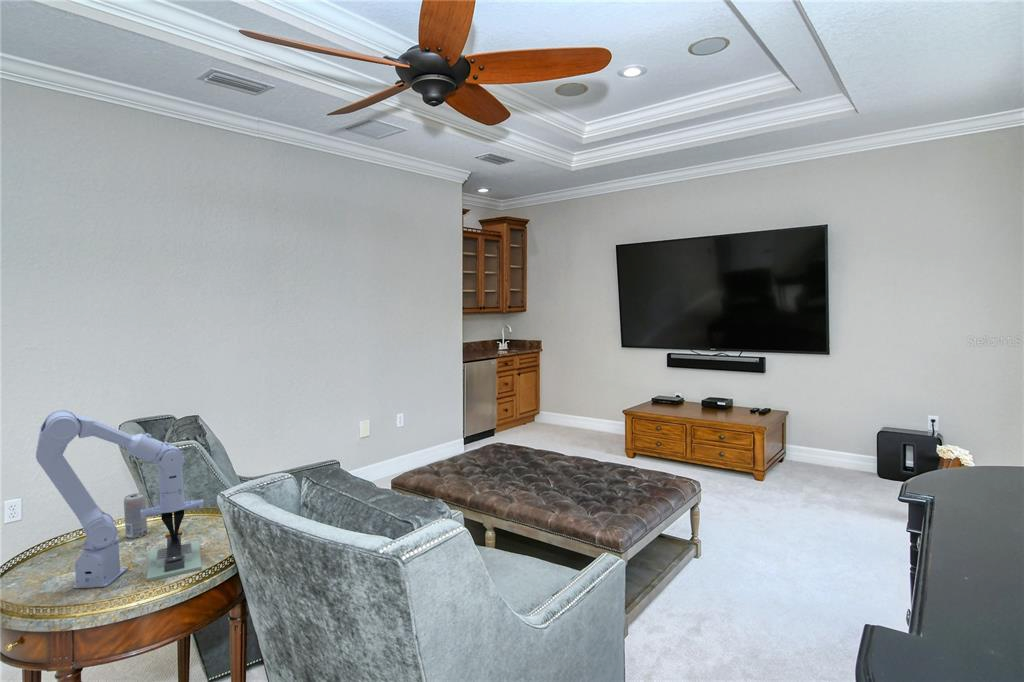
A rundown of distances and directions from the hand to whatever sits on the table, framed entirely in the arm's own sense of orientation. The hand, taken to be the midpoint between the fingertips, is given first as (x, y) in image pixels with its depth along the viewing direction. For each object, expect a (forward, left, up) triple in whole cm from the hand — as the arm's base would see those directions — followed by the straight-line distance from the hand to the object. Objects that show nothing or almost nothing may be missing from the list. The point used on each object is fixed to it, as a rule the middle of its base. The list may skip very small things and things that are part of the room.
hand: (174, 538), depth 151 cm
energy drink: (+17, +19, -6) cm, 26 cm away
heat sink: (-2, -1, -6) cm, 6 cm away
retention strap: (-3, -1, -1) cm, 3 cm away
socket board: (-2, -1, -6) cm, 6 cm away
